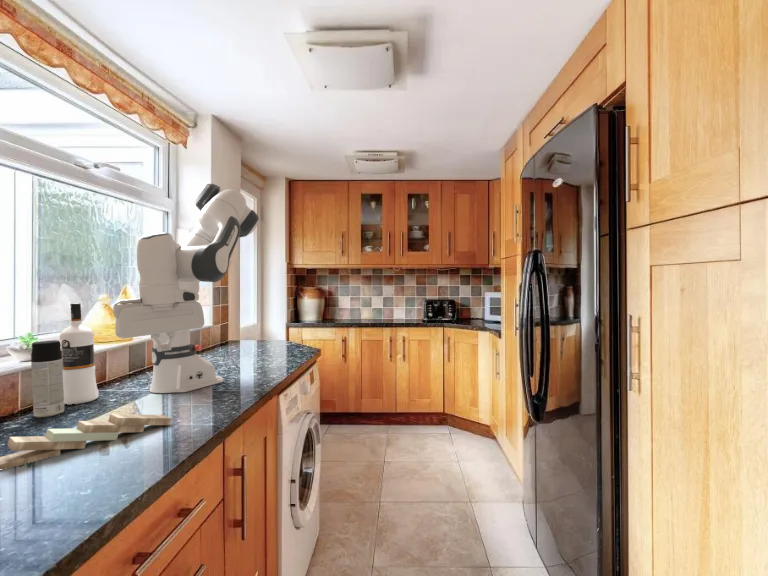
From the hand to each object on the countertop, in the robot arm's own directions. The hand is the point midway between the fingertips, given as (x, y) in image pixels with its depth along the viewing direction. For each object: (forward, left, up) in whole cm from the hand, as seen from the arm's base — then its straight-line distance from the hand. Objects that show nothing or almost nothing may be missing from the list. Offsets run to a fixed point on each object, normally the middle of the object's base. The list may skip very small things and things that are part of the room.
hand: (164, 350), depth 107 cm
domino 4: (+8, +3, -17) cm, 19 cm away
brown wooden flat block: (+19, +4, -17) cm, 25 cm away
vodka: (+9, -42, -18) cm, 46 cm away
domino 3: (+13, +4, -17) cm, 22 cm away
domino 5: (+1, +3, -17) cm, 17 cm away
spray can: (+18, -33, -18) cm, 42 cm away
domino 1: (+23, +3, -17) cm, 29 cm away
